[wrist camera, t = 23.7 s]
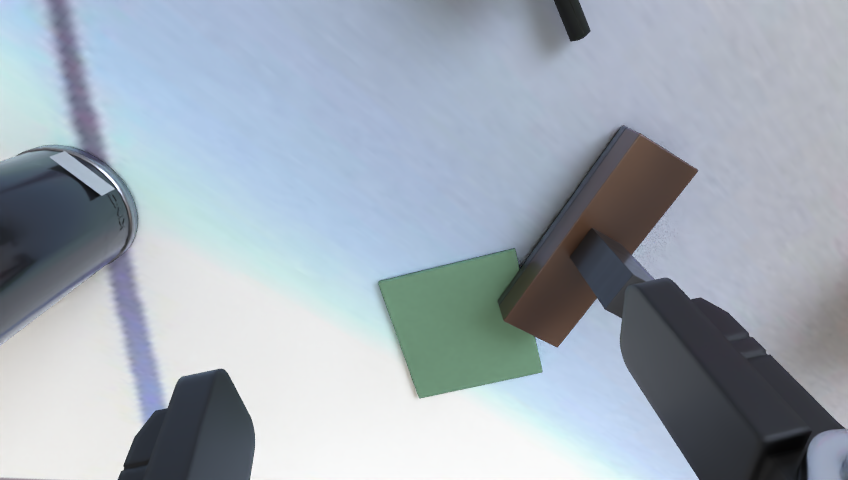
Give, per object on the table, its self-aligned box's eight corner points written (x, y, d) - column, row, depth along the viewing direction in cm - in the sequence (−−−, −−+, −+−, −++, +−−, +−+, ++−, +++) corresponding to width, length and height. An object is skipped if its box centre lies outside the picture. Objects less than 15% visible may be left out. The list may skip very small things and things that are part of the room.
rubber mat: (419, 395, 45) (419, 398, 44) (378, 281, 40) (378, 283, 39) (541, 369, 43) (542, 372, 43) (514, 247, 39) (515, 250, 38)
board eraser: (496, 300, 40) (522, 383, 31) (622, 124, 35) (698, 161, 25) (547, 326, 41) (587, 413, 32) (677, 159, 36) (769, 206, 27)
